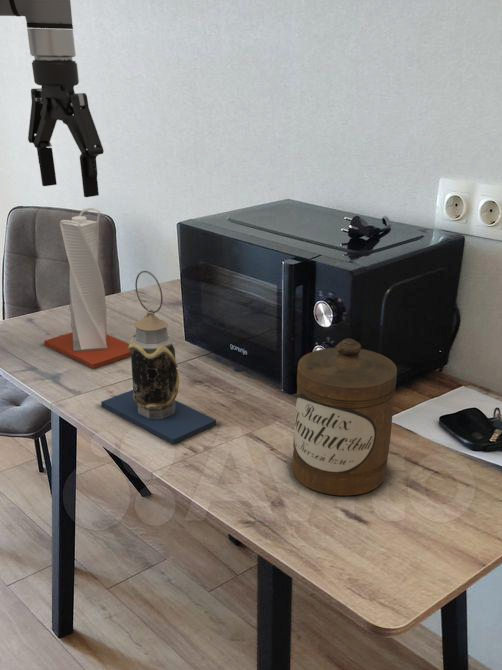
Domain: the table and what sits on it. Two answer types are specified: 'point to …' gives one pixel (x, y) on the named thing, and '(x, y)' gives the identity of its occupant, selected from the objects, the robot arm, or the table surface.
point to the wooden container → (343, 419)
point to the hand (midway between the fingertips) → (69, 190)
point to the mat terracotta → (91, 358)
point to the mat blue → (167, 428)
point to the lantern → (153, 365)
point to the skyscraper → (85, 283)
